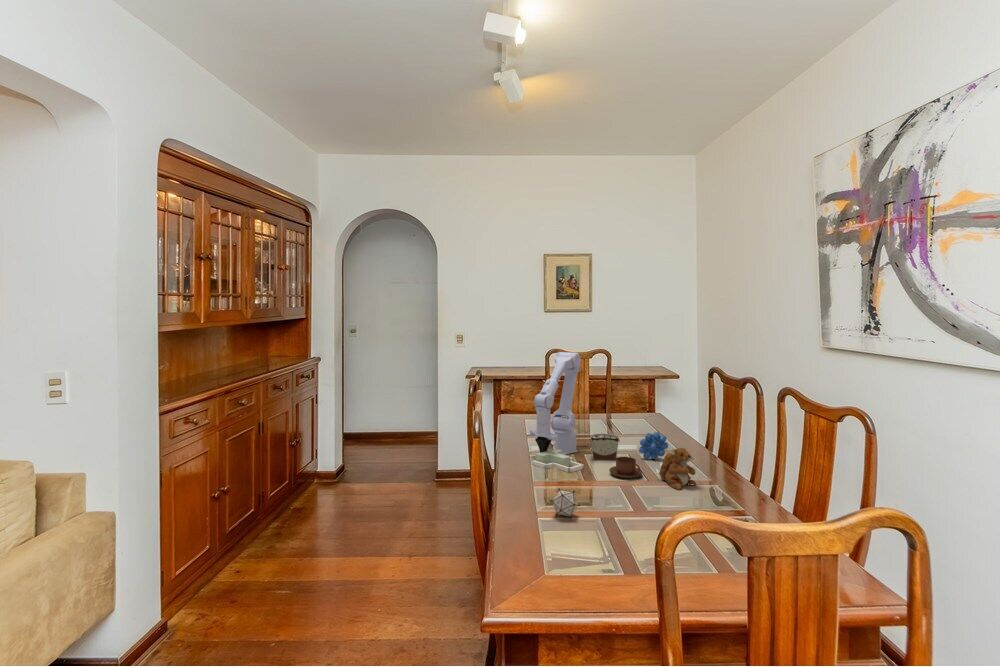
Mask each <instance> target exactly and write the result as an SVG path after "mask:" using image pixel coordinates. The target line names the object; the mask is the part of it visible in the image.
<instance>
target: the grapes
mask: <svg viewBox="0 0 1000 667" xmlns="http://www.w3.org/2000/svg"><path fill="white" fill-rule="evenodd" d="M666 441H667V436H666V435H662V434H661V433H660V432H659V431H655V432H653V433H651V432H650V433H649V432H648V433H646V434H645V436H644V438H642V439H640V440H639V445H640V446H639V448H638V449H639V450H638V452H639V453H641V454H643V458H644V459H645V458H648V459H650V460H652V459H656V460H657V459H658V458H659V457H665V455H666V451H665V450H668V448H669V443H668V442H666Z"/></svg>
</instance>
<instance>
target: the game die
mask: <svg viewBox="0 0 1000 667" xmlns="http://www.w3.org/2000/svg"><path fill="white" fill-rule="evenodd" d="M557 490H558V492H557V493H556V494H555V496H554V497H553V498H552V499H549V502H551V503H552V506H553V508H554V510H555V512H556V514H555V517H557V516H558V515H560V516H564V517H565V516H566V517H569V518H570V519H571V520H572V519H573V514H574V512H575V510H576V509H577V508H578V507H581V504H579V503H578V501H577V499H576V496H575V492H576V489H574V490H572V491H567V490H562V489H561V488H559V487H558V488H557Z"/></svg>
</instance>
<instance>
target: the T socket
mask: <svg viewBox="0 0 1000 667" xmlns="http://www.w3.org/2000/svg"><path fill="white" fill-rule="evenodd" d="M570 457H571V456H570ZM532 465H533V466H535V467H536V466H537V467H539V468H541V469H546V470H547V469H551V468H554V469H557V470H562V471H563V472H564V471H565V472H566V473H573V472H574V473H575V472H576V471H582V470H584V469H585V465H584V464H583V463H579V462H576V461H574V457H571V464H570V467H566V466H563V465H560V464H557V463H554V462H553V463H549V464H544V463H541V462H538V461H535V459H534V460H532Z"/></svg>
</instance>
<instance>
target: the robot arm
mask: <svg viewBox="0 0 1000 667" xmlns="http://www.w3.org/2000/svg"><path fill="white" fill-rule="evenodd" d="M554 362H555V365H554V368H553V370H552V373H551V376H550V378H549V379H546V380H545V382H544V384H543V386H542V389H541V390H540V392H539V393H537V394H536V395H535V396H534V399H533V405H534V407H535V408H534V410H535V411H536V430H535V429H531V430H529V436H535V437H536V438H535V439H534V440H535V443H536V444H537V446H538V450H539V453H541V452H545V451H549V447H550V444H552V443H551V442H554V449H558V450H562V451H563V455H566V456H567V455H568V454H573V453H578V452H579V451H578V450H577V436H576V433H575V432H574V430H575V429H576V416H575V414H574V413H573V412H572V405H573V400H574V394H575V388H576V384H577V383H576V382H577V376H578V373H580V368H581V362H582V359H581V356H580V354H579V353H578V352H568V351H564V352H563V351H558V352H557V353H556V355H555V357H554ZM563 374H564V379H563V386H562V391H561V395H560V401H559V408H558V409H557V410H555V411H554V412H553V414H552V417H551V408H552V407H553V405H554V400H555V394H556V392H557V391H558V389H559V383H558V382H560V381H559V380H560V379H561V377H562V375H563ZM551 429H552V431H553V432H554V434H553V433H552V432H551Z"/></svg>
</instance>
